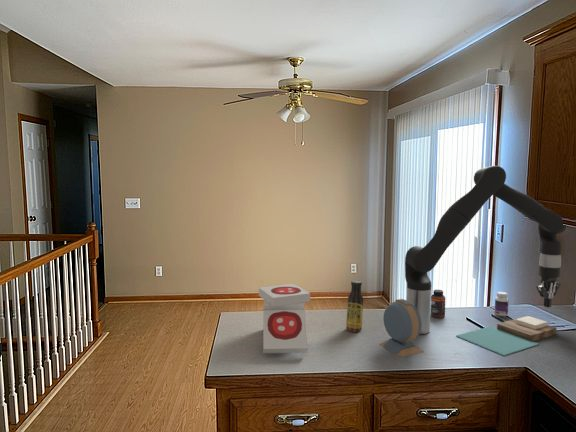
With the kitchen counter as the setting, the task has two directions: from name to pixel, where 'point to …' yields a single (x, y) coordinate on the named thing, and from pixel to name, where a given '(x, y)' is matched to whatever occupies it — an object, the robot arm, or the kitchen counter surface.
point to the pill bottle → (501, 304)
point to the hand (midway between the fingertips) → (547, 306)
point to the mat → (497, 340)
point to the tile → (531, 322)
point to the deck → (526, 330)
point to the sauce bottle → (355, 308)
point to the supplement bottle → (438, 304)
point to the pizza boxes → (284, 319)
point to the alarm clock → (402, 328)
